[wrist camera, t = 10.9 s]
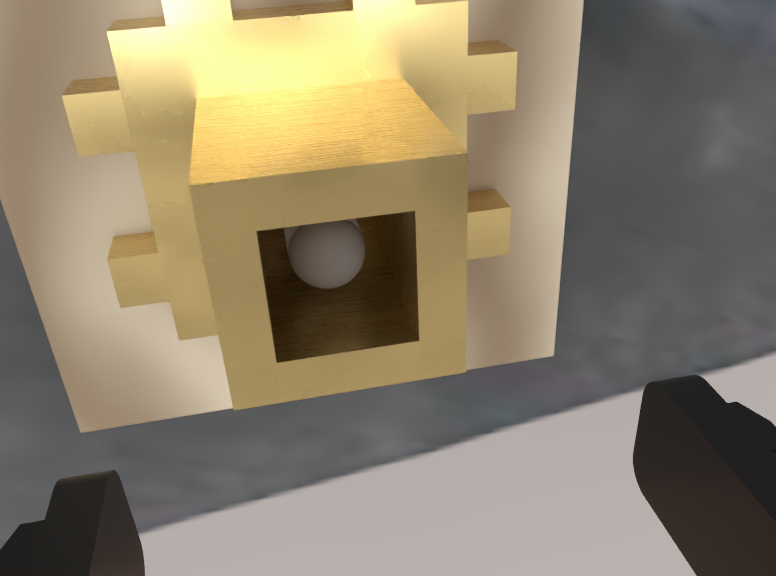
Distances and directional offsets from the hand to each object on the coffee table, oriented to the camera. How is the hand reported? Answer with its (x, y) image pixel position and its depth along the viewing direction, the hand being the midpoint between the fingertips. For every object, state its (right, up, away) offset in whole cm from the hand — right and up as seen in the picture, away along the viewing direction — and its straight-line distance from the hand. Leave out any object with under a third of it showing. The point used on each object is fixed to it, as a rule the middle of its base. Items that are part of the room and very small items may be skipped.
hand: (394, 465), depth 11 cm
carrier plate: (-3, +7, +12) cm, 14 cm away
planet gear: (-3, +6, +11) cm, 13 cm away
